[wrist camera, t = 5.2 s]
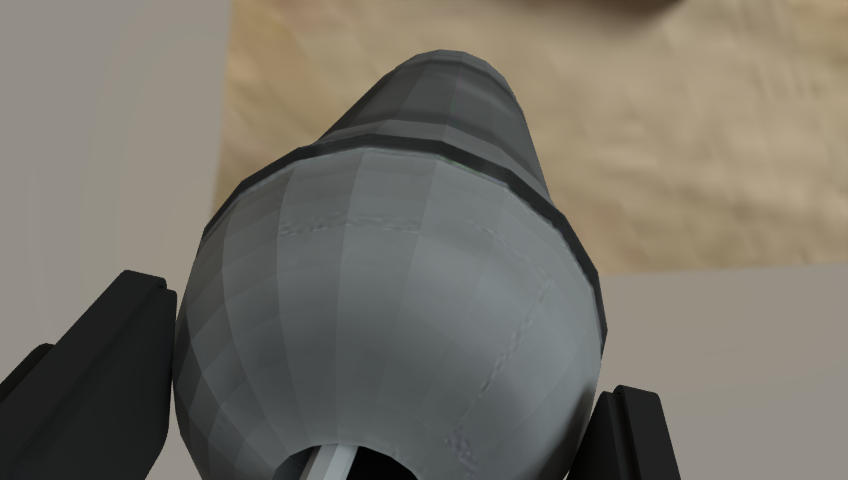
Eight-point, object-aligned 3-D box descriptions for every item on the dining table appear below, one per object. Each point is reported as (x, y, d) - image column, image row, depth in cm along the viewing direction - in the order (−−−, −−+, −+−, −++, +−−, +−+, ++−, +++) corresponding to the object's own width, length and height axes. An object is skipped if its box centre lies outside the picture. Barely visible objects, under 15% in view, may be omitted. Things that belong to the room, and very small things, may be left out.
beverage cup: (386, 258, 26) (106, 1153, 8) (286, 56, 23) (-465, 747, 5) (598, 188, 24) (835, 1159, 6) (517, -42, 21) (532, 533, 3)
